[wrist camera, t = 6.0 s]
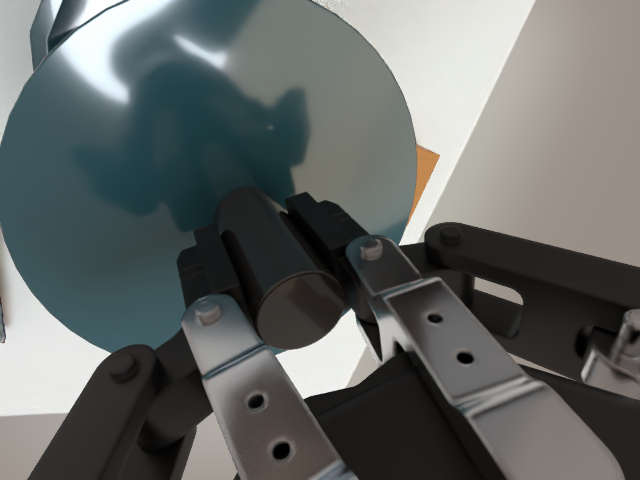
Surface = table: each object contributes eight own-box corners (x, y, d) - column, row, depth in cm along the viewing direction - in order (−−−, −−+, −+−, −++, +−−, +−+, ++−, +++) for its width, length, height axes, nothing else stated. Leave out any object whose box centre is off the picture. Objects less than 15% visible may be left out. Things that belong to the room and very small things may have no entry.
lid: (-131, 41, 9) (-454, 87, 4) (393, -57, 13) (578, -100, 8) (127, 400, 17) (128, 572, 12) (408, 279, 21) (504, 373, 15)
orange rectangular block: (385, 133, 41) (407, 144, 38) (417, 144, 43) (440, 155, 40) (356, 204, 44) (374, 219, 40) (387, 211, 46) (406, 226, 43)
